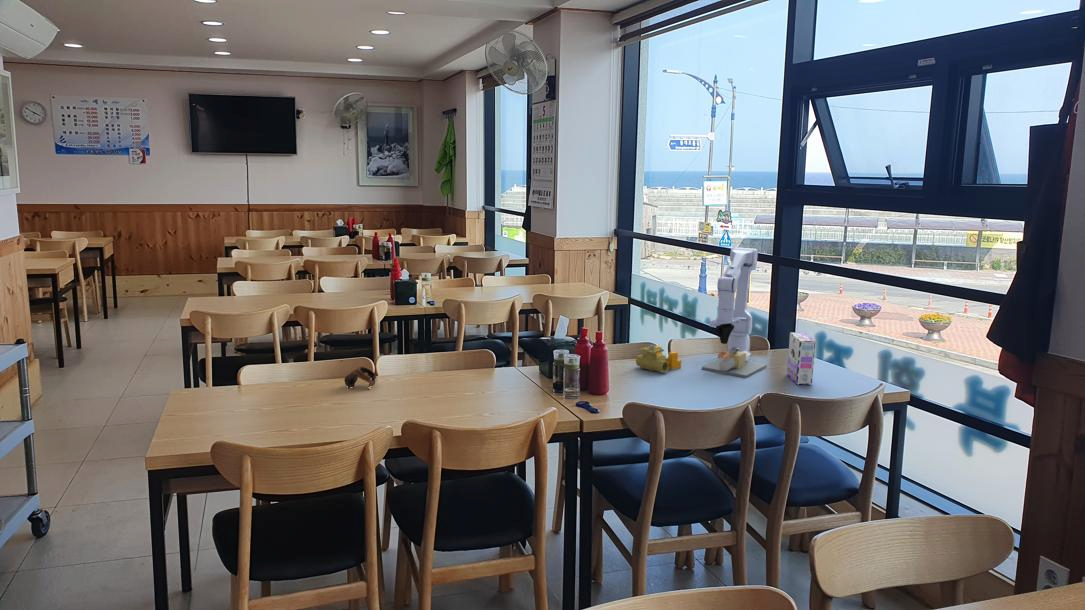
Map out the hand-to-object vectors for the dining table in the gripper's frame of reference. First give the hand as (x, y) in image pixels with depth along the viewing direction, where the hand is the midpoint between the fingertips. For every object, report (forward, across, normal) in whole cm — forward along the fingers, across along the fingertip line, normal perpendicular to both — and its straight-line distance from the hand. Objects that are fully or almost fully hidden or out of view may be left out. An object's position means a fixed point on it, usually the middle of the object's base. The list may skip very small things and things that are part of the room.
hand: (723, 343), depth 311 cm
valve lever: (+3, 0, +3) cm, 5 cm away
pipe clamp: (+11, +14, -16) cm, 24 cm away
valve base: (+10, -5, +1) cm, 12 cm away
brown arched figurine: (+10, +127, -47) cm, 136 cm away
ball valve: (+10, +23, -13) cm, 28 cm away
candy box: (+10, -14, +24) cm, 30 cm away
